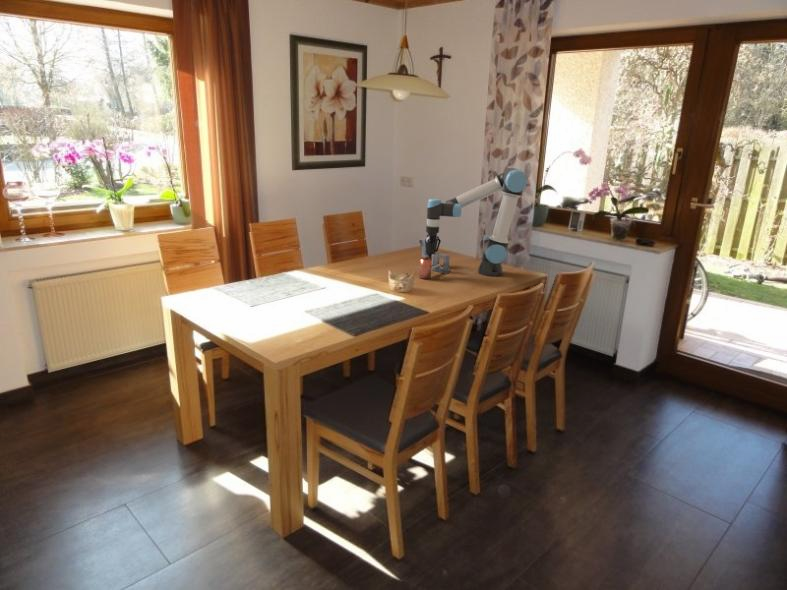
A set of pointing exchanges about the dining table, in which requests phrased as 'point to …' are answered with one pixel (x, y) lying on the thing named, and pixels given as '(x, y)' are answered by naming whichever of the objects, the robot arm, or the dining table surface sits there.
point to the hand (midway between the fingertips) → (430, 265)
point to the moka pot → (423, 245)
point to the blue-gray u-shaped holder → (445, 266)
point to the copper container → (426, 267)
